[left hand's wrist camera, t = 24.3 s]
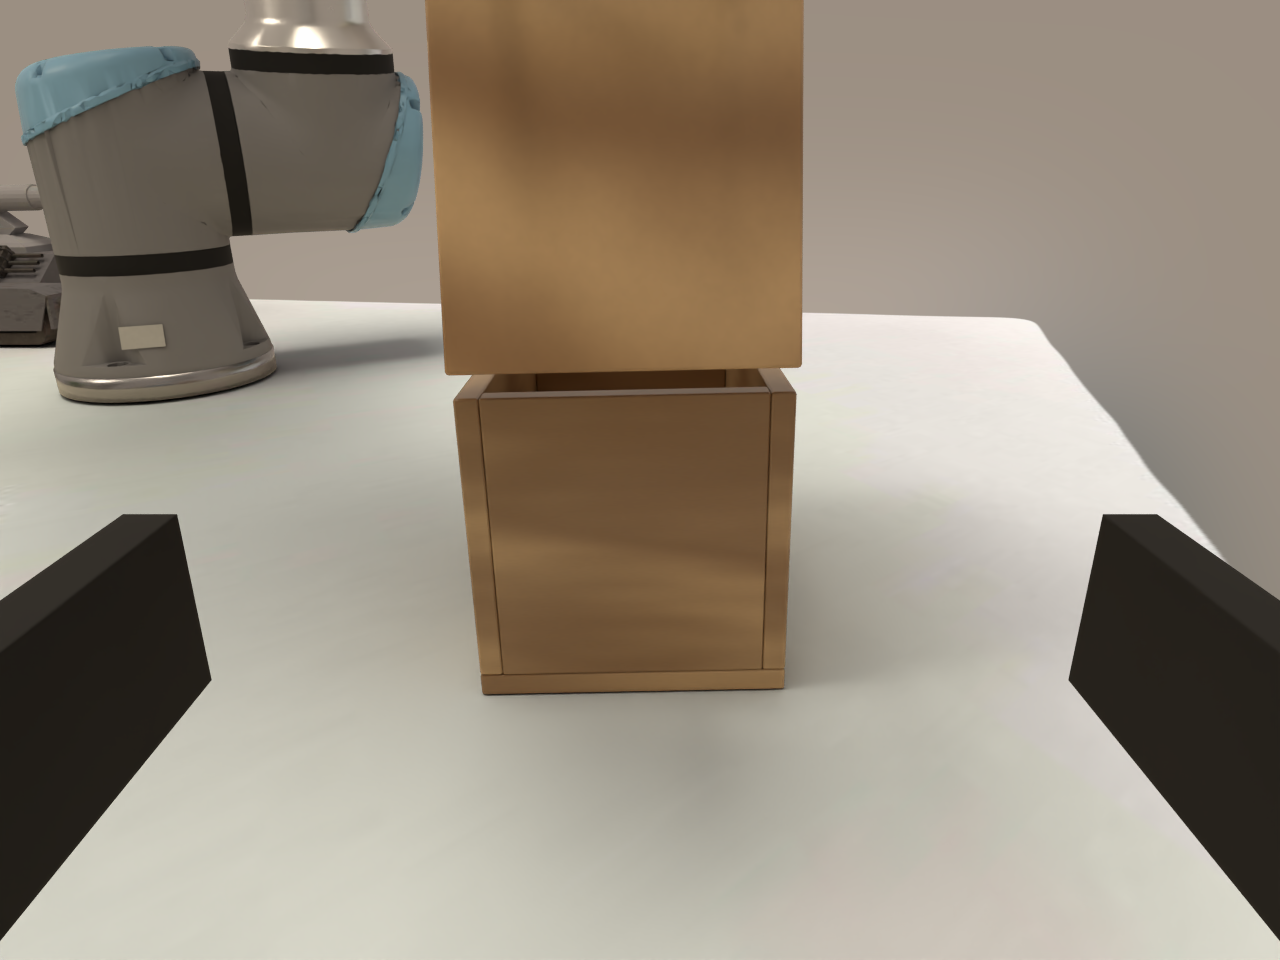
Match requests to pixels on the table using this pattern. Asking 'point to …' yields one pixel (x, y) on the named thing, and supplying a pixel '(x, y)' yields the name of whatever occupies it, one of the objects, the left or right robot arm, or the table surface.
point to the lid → (618, 183)
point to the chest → (628, 528)
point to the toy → (26, 274)
